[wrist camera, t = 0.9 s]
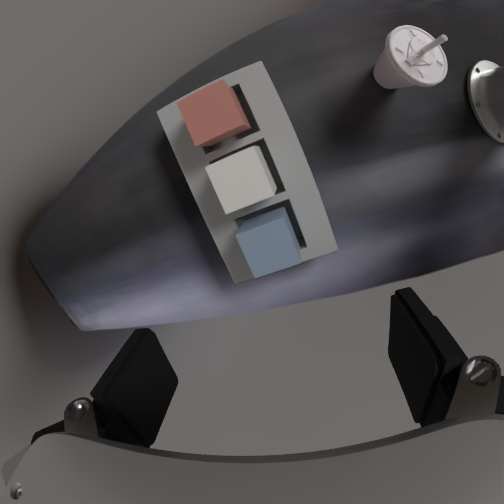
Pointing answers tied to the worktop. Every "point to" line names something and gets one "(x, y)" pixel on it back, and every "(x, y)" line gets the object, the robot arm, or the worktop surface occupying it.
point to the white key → (241, 179)
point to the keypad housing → (278, 161)
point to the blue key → (269, 242)
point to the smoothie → (411, 59)
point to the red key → (213, 114)
